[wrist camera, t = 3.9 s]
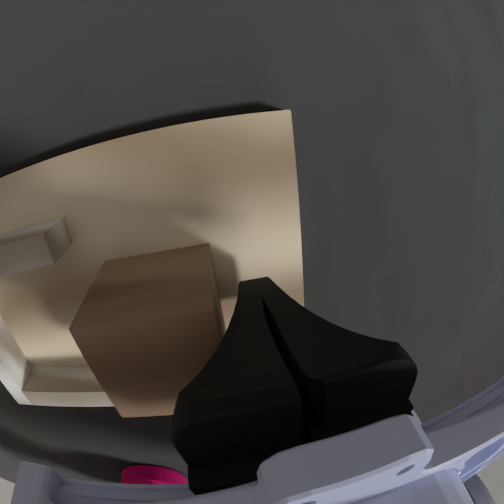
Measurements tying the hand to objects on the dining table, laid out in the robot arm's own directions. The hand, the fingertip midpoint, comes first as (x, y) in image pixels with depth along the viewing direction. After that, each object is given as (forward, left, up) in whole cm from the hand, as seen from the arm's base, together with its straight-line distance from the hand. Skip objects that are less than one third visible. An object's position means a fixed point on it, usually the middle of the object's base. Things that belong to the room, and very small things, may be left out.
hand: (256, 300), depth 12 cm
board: (0, +6, -2) cm, 7 cm away
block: (0, +4, -1) cm, 4 cm away
